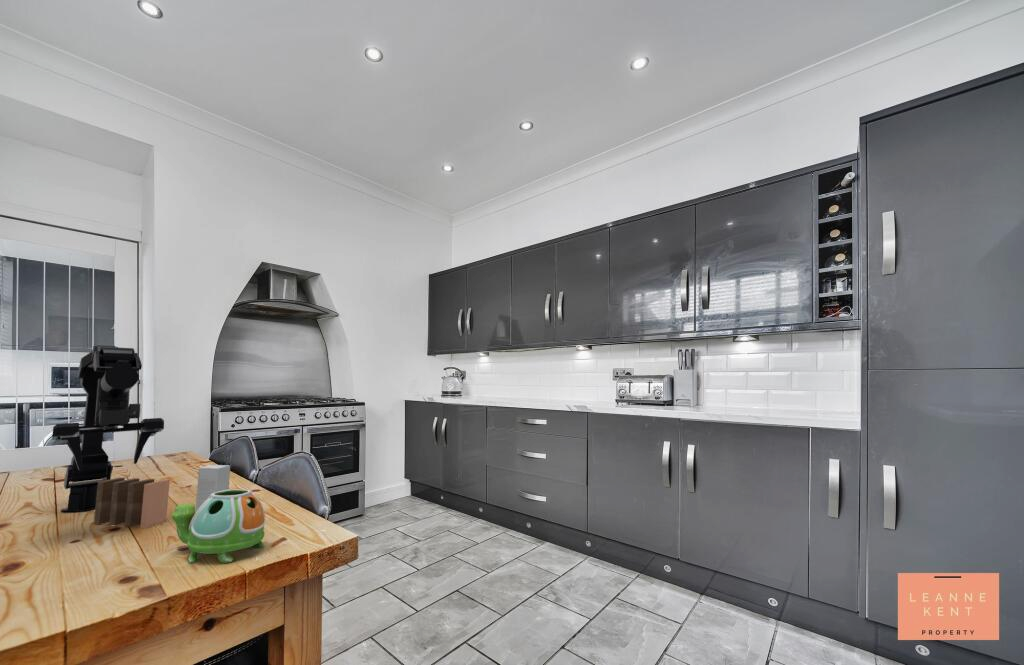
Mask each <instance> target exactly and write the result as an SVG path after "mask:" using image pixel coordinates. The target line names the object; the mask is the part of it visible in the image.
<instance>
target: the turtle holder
mask: <svg viewBox="0 0 1024 665" xmlns="http://www.w3.org/2000/svg"><path fill="white" fill-rule="evenodd" d="M247 499H249V501H247ZM195 511H196V504H193V503H190V504H185V503H180V504H178V505H177V506H176V507H174V512H173V513H171V519H172V521H174V523H175V526H176V533H177V536H178V539H179V540H180V541H181V542H182V543H184V544H186V545H187V548H188V549H189V550H190V554H189V556H188V558H187V562H188V563H189V564H191V563H192V564H194V563H196V562H197V561H198V557H199V554H205V555H206V554H209V555H210V554H212V555H213V554H217V558H218V561H219V562H220V563H225V564H226V563H227V564H228V563H232V562H233V561H234V558H233V557H232V556H231V555H230V554H229V553H230V552H235V551H240V550H243V549H247V548H251V547H253V548H256V549H257V548H263V547H265V543H264V542H263V541H262V540H263V539H264V537H265V531H264V529H265V524H266V512H265V509H264V506H263V504H262V502H261V500H260V499H259V498H258V497H257V496H256V494H254V493H253V492H252V490H251V489H243V488H242V489H239V488H238V489H236V488H235V489H229V490H223V491H219V492H215V493H212V494H211V495H210V497H209V498H208V499H207V500H206V501H205V502H204V503H203V504H202V505H201V506H200V508H199V509H198V510H197V512H195Z"/></svg>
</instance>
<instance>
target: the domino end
mask: <svg viewBox="0 0 1024 665" xmlns="http://www.w3.org/2000/svg"><path fill="white" fill-rule="evenodd" d="M170 481H171V480H170V479H159V480H155V481H154V482H152V483H148V484H144V494H143V504H142V515H141V524H140V527H141V529H147V528H150V527H154V526H156V525H160V524H163V523H165V522H167V515H168V514H167V512H168V505H169V504H168V503H169V493H170V483H171V482H170ZM140 527H139V528H140Z"/></svg>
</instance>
